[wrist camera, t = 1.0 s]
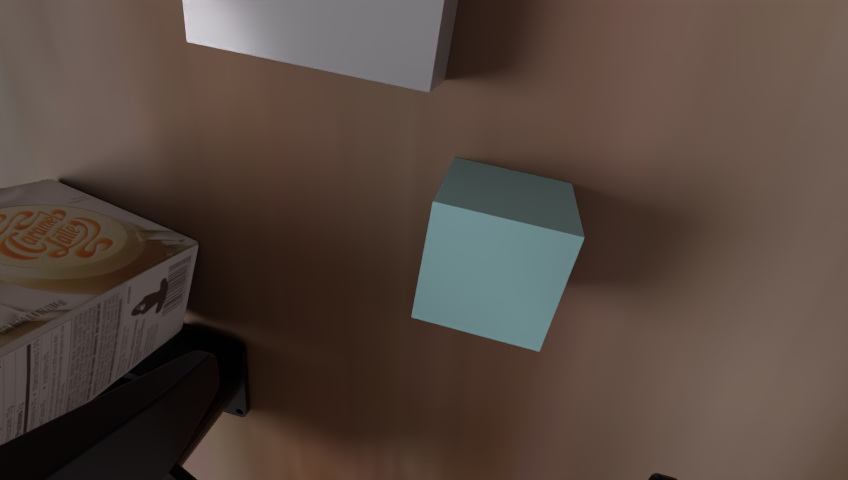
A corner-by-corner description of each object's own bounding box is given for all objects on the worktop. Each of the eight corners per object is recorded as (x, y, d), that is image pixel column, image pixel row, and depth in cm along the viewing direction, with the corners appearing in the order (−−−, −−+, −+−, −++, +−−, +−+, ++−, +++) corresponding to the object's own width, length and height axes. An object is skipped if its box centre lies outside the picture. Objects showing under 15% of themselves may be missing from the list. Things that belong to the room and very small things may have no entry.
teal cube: (537, 279, 21) (539, 351, 16) (435, 254, 21) (411, 317, 17) (571, 182, 18) (584, 237, 14) (455, 156, 19) (432, 201, 14)
